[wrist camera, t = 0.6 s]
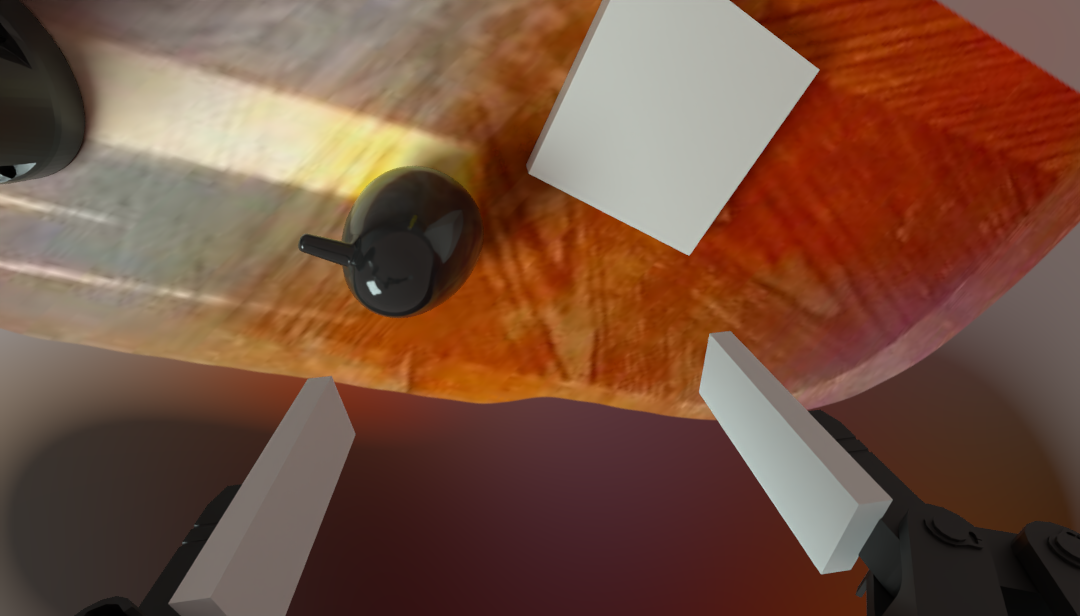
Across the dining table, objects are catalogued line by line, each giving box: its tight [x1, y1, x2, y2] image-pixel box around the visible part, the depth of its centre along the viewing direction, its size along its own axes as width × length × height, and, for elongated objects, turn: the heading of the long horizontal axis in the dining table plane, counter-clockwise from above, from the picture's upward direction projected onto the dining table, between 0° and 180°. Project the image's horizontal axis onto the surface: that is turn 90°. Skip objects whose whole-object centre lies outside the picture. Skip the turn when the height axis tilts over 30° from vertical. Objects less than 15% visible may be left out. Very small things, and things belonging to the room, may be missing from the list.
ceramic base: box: [526, 0, 819, 255], centre depth 32 cm, size 16×16×4 cm
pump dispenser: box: [298, 166, 484, 318], centre depth 29 cm, size 10×10×15 cm
